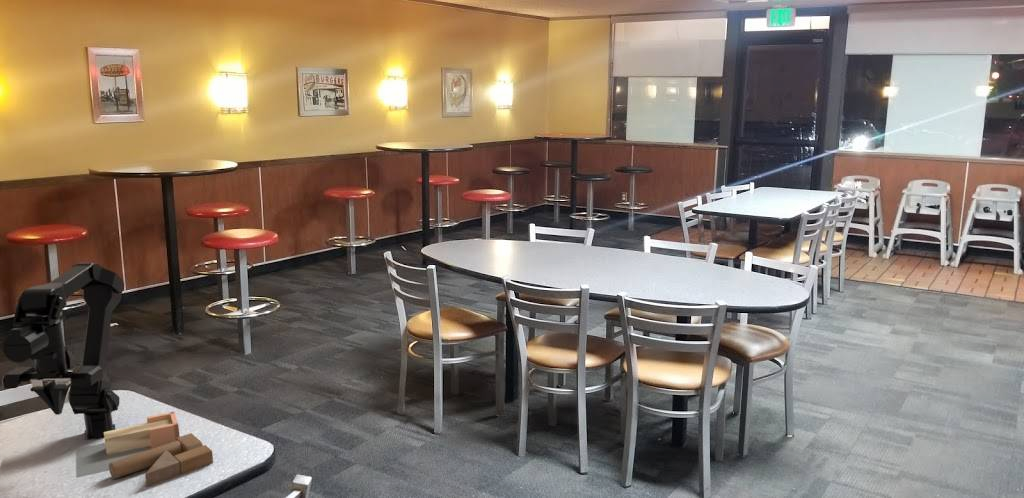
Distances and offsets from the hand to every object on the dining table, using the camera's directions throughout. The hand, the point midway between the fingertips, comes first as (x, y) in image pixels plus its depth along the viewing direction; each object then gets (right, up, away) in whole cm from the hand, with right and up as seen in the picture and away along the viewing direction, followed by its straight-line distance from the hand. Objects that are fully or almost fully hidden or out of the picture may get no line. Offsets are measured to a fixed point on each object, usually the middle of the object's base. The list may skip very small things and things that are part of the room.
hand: (58, 413), depth 168 cm
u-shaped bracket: (+17, -9, +12) cm, 23 cm away
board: (+12, -11, +7) cm, 17 cm away
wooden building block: (+13, -9, +10) cm, 19 cm away
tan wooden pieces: (+30, -9, +5) cm, 31 cm away
